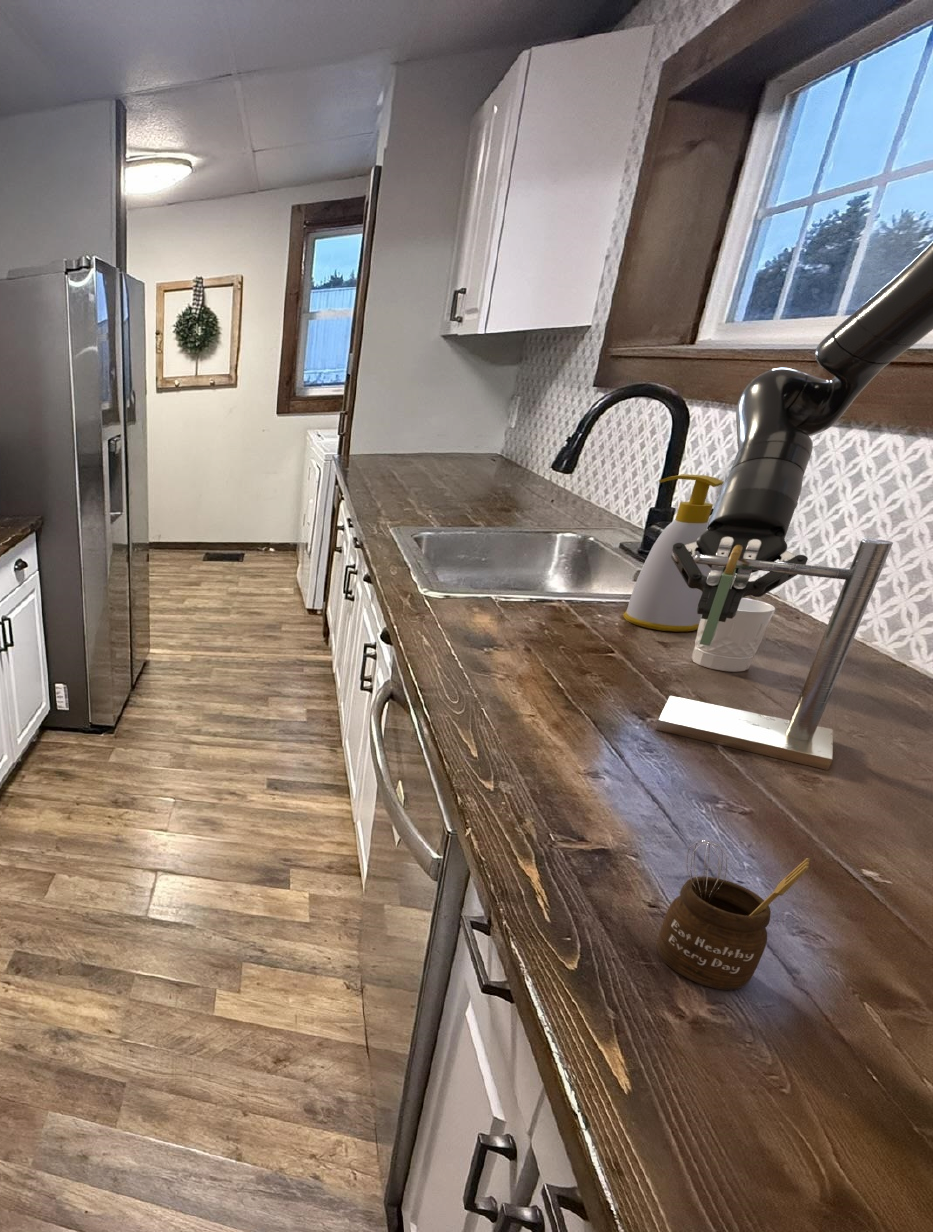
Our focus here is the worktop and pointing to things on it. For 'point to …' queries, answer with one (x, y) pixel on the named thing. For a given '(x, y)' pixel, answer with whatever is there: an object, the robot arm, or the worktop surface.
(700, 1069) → the worktop surface
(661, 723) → the stand
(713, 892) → the utensil holder
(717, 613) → the green spatula stick
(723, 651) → the white cup
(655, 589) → the soap bottle
